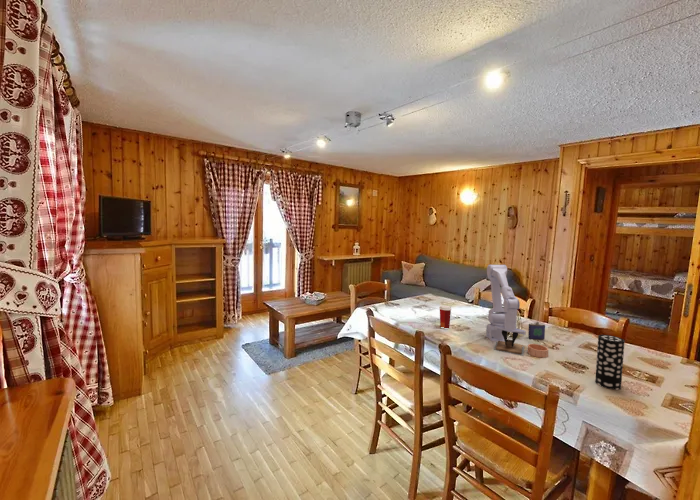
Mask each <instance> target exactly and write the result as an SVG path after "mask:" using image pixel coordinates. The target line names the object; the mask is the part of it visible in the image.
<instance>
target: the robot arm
mask: <svg viewBox="0 0 700 500" xmlns="http://www.w3.org/2000/svg"><path fill="white" fill-rule="evenodd" d="M486 274H487V275H486V276H487V279H488V280H490V290H491V299H492V308H490V309H489V310H488V316H487V319H488V321H489V323H487V324H486V327H485V328H486V329H485V330H486V331H485V332H486V333H485V337H486V338H487V339H489V340H490V341H491V342H498V341H503V342H505V345H506V344H507V339H508V333H512V339H511V340H512V346H514V344H515V342H516V339H517V338H518V336H519V335H523V336H526V333H527V332H526V331H527V330H525V329H521V328H517V321H518V320H517V319H518V318H517V317H518V315H517V314H518V310H519V309H520V306H521V303H520V300H519V299H518V297H516V296H515V294H514V291H513V289H512V287H511V286H510V285H509V283H508V278H507V274H508V266H507V265H506V264H488V265H487V267H486ZM502 300H503V301H502Z"/></svg>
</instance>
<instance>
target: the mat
mask: <svg viewBox="0 0 700 500" xmlns="http://www.w3.org/2000/svg"><path fill="white" fill-rule="evenodd" d="M497 343H498V341H495V345H494V348H493V351H497V352H502V353H506V354H511V355H516V356H521V357H524V356H525V346H523V347H522V353H521V354H517V353H512V352H507V351H502V350H497V349H496V346H497Z"/></svg>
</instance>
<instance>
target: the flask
mask: <svg viewBox="0 0 700 500" xmlns="http://www.w3.org/2000/svg"><path fill="white" fill-rule="evenodd" d="M545 337H546V324H544V323H540V321H536V322H534V323H533V322H531V323H528V337H527V338H529V339H528V340H531V339H533V340H534V341H536V340H537V341H541V340H545ZM533 340H532V341H533Z"/></svg>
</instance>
